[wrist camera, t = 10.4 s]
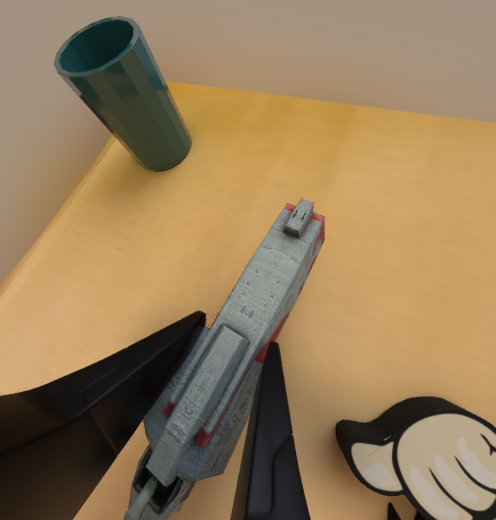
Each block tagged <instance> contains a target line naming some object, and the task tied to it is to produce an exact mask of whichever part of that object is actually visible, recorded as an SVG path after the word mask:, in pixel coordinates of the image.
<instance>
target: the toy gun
mask: <svg viewBox="0 0 496 520" xmlns="http://www.w3.org/2000/svg"><path fill="white" fill-rule="evenodd" d="M313 207H314V202H312V201H309V200H306V199H303V198H300V200H299V202H298V204H297V206H294V205H292V204H289V203H287V204H286V206H285V207H284V209H283V210H282V212H281V213H280V215H279V217H278V218H277V220H276V221H275V223H274V224H273V226H272V227H271V229H270V230H269V232H268V234H267V235H266V237H265V238H264V240H263V241H262V243H261V244H260V246H259V248H258V249H257V251H256V252H255V254H254V255H253V257H252V258H251V260H250V262H249V263H248V265H247V266H246V268H245V270H244V271H243V273H242V275H241V276H240V278H239V280H238V282H237V283H236V285H235V287H234V288H233V290H232V292H231V293H230V295H229V297H228V299H227V300H226V302H225V304H224V305H223V307H222V309H221V311H220V312H219V314H218V316H217V317H216V319H215V321H214V322H213V324H212V326H211V328H208V327H206V326H205V327H204V329H203V331H202V333H201V334H200V336H199V338H198V340H197V341H196V343H195V345H194V347H193V349H192V350H191V352H190V354H189V355H188V357H187V358H186V360H185V361H184V363H183V364H182V365H181V367H180V368H179V370H178V371H177V373H176V374H175V375H174V377H173V378H172V380H171V381H170V382H169V384H168V385H167V387H166V388H165V390H164V391H163V392H162V394H161V395H160V397H159V398H158V399H157V401H156V402H155V404H154V405H153V406H152V408H151V410H150V411H149V413H148V414H147V416H146V417H145V419H144V420H143V422H144V427H145V433H146V436H147V439H148V441H149V443H150V444H149V445H148V447H147V449H146V450H145V452H144V454H143V455H142V457H141V459H140V460H139V463H138V466H137V469H136V472H135V476H134V479H133V482H132V487H131V493H130V500H129V507H128V509H129V510H128V511H127V512H126V514H125V516H124V520H167V519H168V518H169V517H171V516H172V515H174V514H175V513H177V512H178V511H179V510H180V508H181V506H182V504H183V502H184V501H185V500H186V499H187V498H188V496H189V494H190V492H191V490H192V489H193V487H194V485H195V483H196V481H198V480H201V479H205V478H209V477H212V476H216V475H220V474H223V472H224V470H225V468H226V466H227V463H228V461H229V459H230V457H231V455H232V452H233V450H234V448H235V446H236V444H237V441H238V439H239V437H240V435H241V433H242V430H243V428H244V426H245V424H246V422H247V419H248V417H249V415H250V413H251V408H252V403H253V398H254V392H255V388H256V384H257V380H258V377H259V374H260V371H261V367H262V364H263V361H264V358H265V354H266V351H267V348H268V345H269V342H270V341H271V340H272V341H275V340H276V338H277V336H278V334H279V332H280V330H281V329H282V327H283V325H284V323H285V321H286V319H287V317H288V315H289V313H290V311H291V309H292V307H293V305H294V303H295V301H296V299H297V298H298V296H299V294H300V292H301V289H302V287H303V285H304V283H305V281H306V279H307V277H308V274H309V272H310V270H311V268H312V266H313V264H314V262H315V259H316V257H317V255H318V253H319V251H320V249H321V247H322V244H323V242H324V240H325V216H322V215H319V214H318V213H316V212H315V211H314V210H313Z"/></svg>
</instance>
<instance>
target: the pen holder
mask: <svg viewBox="0 0 496 520" xmlns="http://www.w3.org/2000/svg"><path fill="white" fill-rule="evenodd" d="M54 66H55V68H56V70H57V72H58V74H59V75H60V76H61V77H62V78H63V79H64V80H65V82H66V83H67V84H68V85H69V86H70V87H71V88H72V89H73V91H75V93H76V94H77V95H78V96H79V97H80V98H81V99H82V100H83V102H84V103H85V104H86V105H87V106H88V107H89V108H90V109H91V110H92V112H93V113H94V114H95V115H96V116H97V117H98V118H99V119H100V121H101V122H102V123H103V124H104V125H105V126H106V127H107V128H108V129H109V130H110V132H111V133H112V134H113V135H114V136H115V137H116V138H117V139H118V141H119V142H120V143H121V144H122V145H123V146H124V147H125V148H126V150H127V151H128V152H129V153H130V154H131V155H132V156H133V157H134V158H135V160H136V161H137V162H138V163H140V164H141V165H142V166H143V167H144V168H145V169H148V170H151V171H163V170H167V169H170V168H172V167H174V166H176V165H177V164H179V163H180V162H181V161H182V160H183V159H184V158H185V157H186V156H187V154H188V152H189V150H190V148H191V137H190V134H189V131H188V129H187V127H186V125H185V123H184V120H183V118H182V116H181V114H180V112H179V110H178V108H177V106H176V103H175V101H174V99H173V97H172V95H171V93H170V91H169V89H168V86H167V84H166V82H165V80H164V78H163V76H162V74H161V72H160V70H159V67H158V65H157V63H156V61H155V59H154V57H153V55H152V53H151V50H150V48H149V46H148V44H147V42H146V40H145V38H144V36H143V33H142V31H141V29H140V27H139V25H138V24H137V23H136V22H135V21H134V20H133V19H132V18H127V17H122V16H118V17H110V18H105V19H102V20H100V21H97V22H94V23H92V24H90V25H88V26H86V27H84V28H82V29H81V30H79V31H78V32H76V33H75V34H74V35H72V36H71V37H70V38H69V39H68V40H67V41H66V42H65V43H64V44H63V45H62V47H61V48H60V49H59V51H58V52H57V54H56V57H55V61H54Z"/></svg>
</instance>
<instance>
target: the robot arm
mask: <svg viewBox="0 0 496 520" xmlns="http://www.w3.org/2000/svg"><path fill="white" fill-rule="evenodd" d="M205 324H206V314H205V313H204V312H202V311H196V312H194V313H192V314H191V315H189V316H187V317H185V318H183V319H181V320H179V321H177V322H175V323H173V324H171V325H169V326H167V327H165V328H163V329H161V330H159V331H158V332H156V333H154V334H152V335H150V336H148V337H146V338H144V339H142V340H140V341H138V342H136V343H134V344H132V345H130V346H128V347H127V348H124V349H123V350H121V351H119V352H117V353H115V354H113V355H111V356H109V357H107V358H105V359H103V360H100V361H98V362H96V363H94V364H91V365H89V366H87V367H85V368H82V369H80V370H78V371H75V372H73V373H71V374H68V375H66V376H64V377H61V378H59V379H57V380H54V381H52V382H50V383H47V384H45V385H42V386H40V387H37V388H34V389H31V390H27V391H23V392H19V393H14V394H8V395H2V396H0V520H73V519H74V517H75V516H76V514H77V513H78V511H79V510H80V509H81V507H82V506H83V504H84V503H85V502H86V500H87V499H88V497H89V496H90V494H91V493H92V492H93V490H94V489H95V487H96V486H97V485H98V483H99V482H100V480H101V479H102V477H103V476H104V475H105V473H106V472H107V470H108V469H109V468H110V466H111V465H112V463H113V462H114V460H115V459H116V458H117V456H118V454H119V453H120V452H121V450H122V449H123V448H124V446H125V445H126V443H127V442H128V440H129V439H130V438H131V436H132V435H133V433H134V432H135V431H136V429H137V428H138V426H139V425H140V423H141V422H142V421H143V419H144V418H145V416H146V415H147V414H148V412H149V411H150V409H151V408H152V406H153V405H154V404H155V402H156V401H157V399H158V398H159V397H160V395H161V394H162V392H163V391H164V390H165V388H166V387H167V385H168V384H169V382H170V381H171V380H172V378H173V377H174V375H175V374H176V373H177V371H178V370H179V368H180V367H181V365H182V364H183V363H184V361H185V360H186V358H187V357H188V355H189V354H190V352H191V350H192V349H193V347H194V345H195V343H196V341H197V340H198V338H199V336H200V334H201V333H202V331H203V329H204V327H205ZM292 433H293V431H292V425H291V419H290V412H289V406H288V400H287V393H286V387H285V380H284V374H283V368H282V361H281V355H280V349H279V344H278V343H277V342H275V341H272V340H271V341H270V342H269V345H268V348H267V351H266V354H265V358H264V361H263V364H262V367H261V371H260V374H259V377H258V380H257V384H256V388H255V392H254V398H253V403H252V408H251V413H250V419H249V424H248V429H247V434H246V440H245V445H244V450H243V455H242V461H241V466H240V471H239V476H238V482H237V487H236V492H235V498H234V503H233V508H232V513H231V519H230V520H311V519H310V515H309V511H308V507H307V502H306V498H305V494H304V490H303V485H302V481H301V476H300V471H299V466H298V461H297V455H296V450H295V443H294V437H293V435H292Z"/></svg>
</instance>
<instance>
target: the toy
mask: <svg viewBox="0 0 496 520" xmlns="http://www.w3.org/2000/svg"><path fill="white" fill-rule="evenodd" d="M336 436H337V441H338V444H339V446H340V448H341V450H342V452H343V454H344V456H345V458H346V460H347V462H348V465H349V467H350V469H351V470H352V472H353V473H354V475H355V476H356V477H357V479H358V480H359V481H360V482H361V483H362V484H364V485H365V486H366V487H367V488H369V489H371V490H373V491H374V492H377V493H379V494H382V495H386V496H398V495H401V494H404V495H405V496H406V497H407V498H408V499H409V501H410V502H411V503H412V505H413V506H414V507H415V508H416V510H417V511H418V513H417V516H416V519H415V520H496V428H495V427H494V426H493V425H492V424H490V423H489V422H487V421H486V420H484V419H482V418H481V417H479V416H477V415H475V414H473V413H471V412H469V411H467V410H465V409H463V408H461V407H459V406H457V405H455V404H453V403H451V402H449V401H447V400H445V399H442V398H438V397H416V398H410V399H406V400H404V401H402V402H400V403H397V404H396V405H394V406H393V407H391V408H390V409H388V410H387V411H385V412H384V413H383V414H382V415H381V416H380V417H378V418H376V419H375V420H373V421H371V422H367V423H361V422H356V421H350V420H341V421H340V422H339V423H338V422H337V426H336ZM388 520H401V519H400V517H399V516H398V514H397V512H396V511H395V509H394V507H393V506H392V504H391V503H390V504H389V509H388Z"/></svg>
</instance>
